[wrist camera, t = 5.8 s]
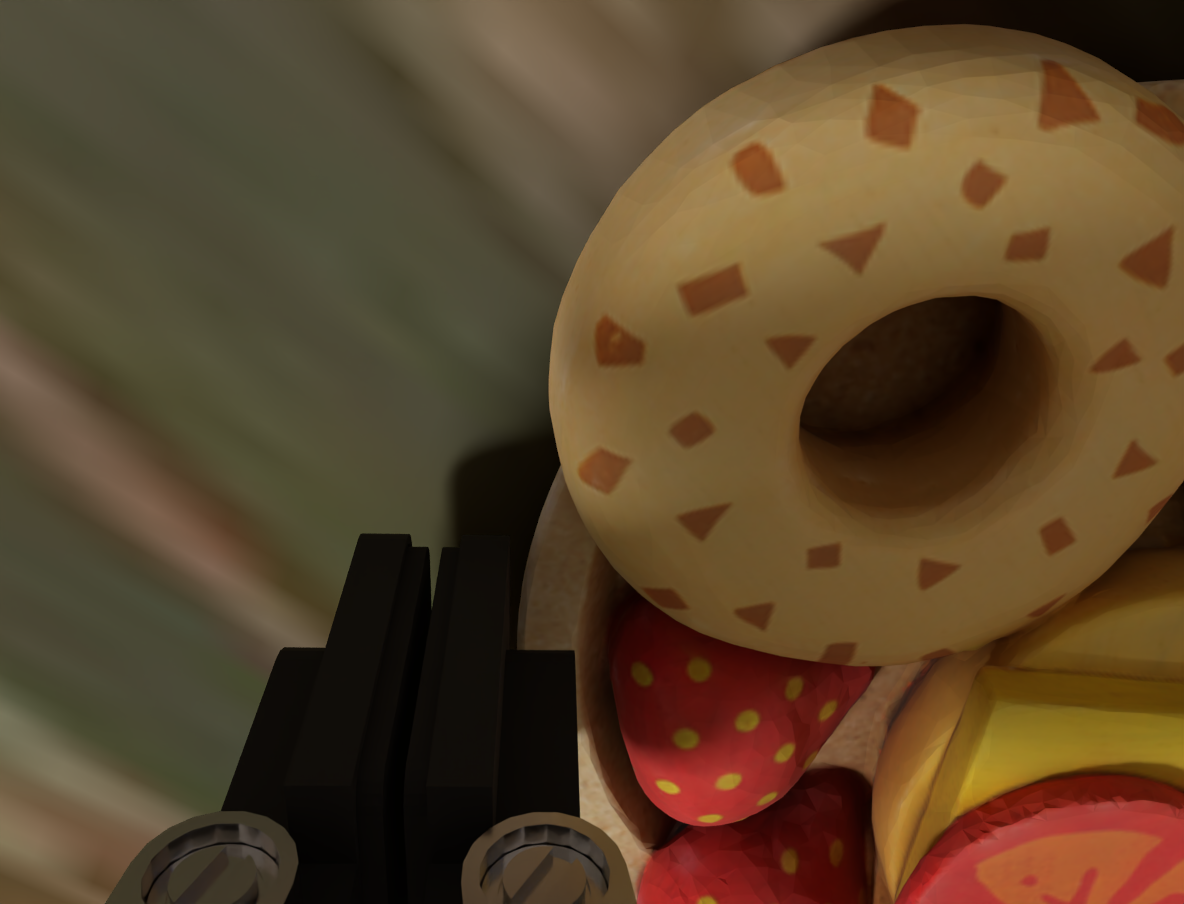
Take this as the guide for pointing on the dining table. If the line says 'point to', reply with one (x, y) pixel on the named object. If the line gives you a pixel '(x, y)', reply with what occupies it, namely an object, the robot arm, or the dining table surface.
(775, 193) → the toy food set
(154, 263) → the dining table surface
